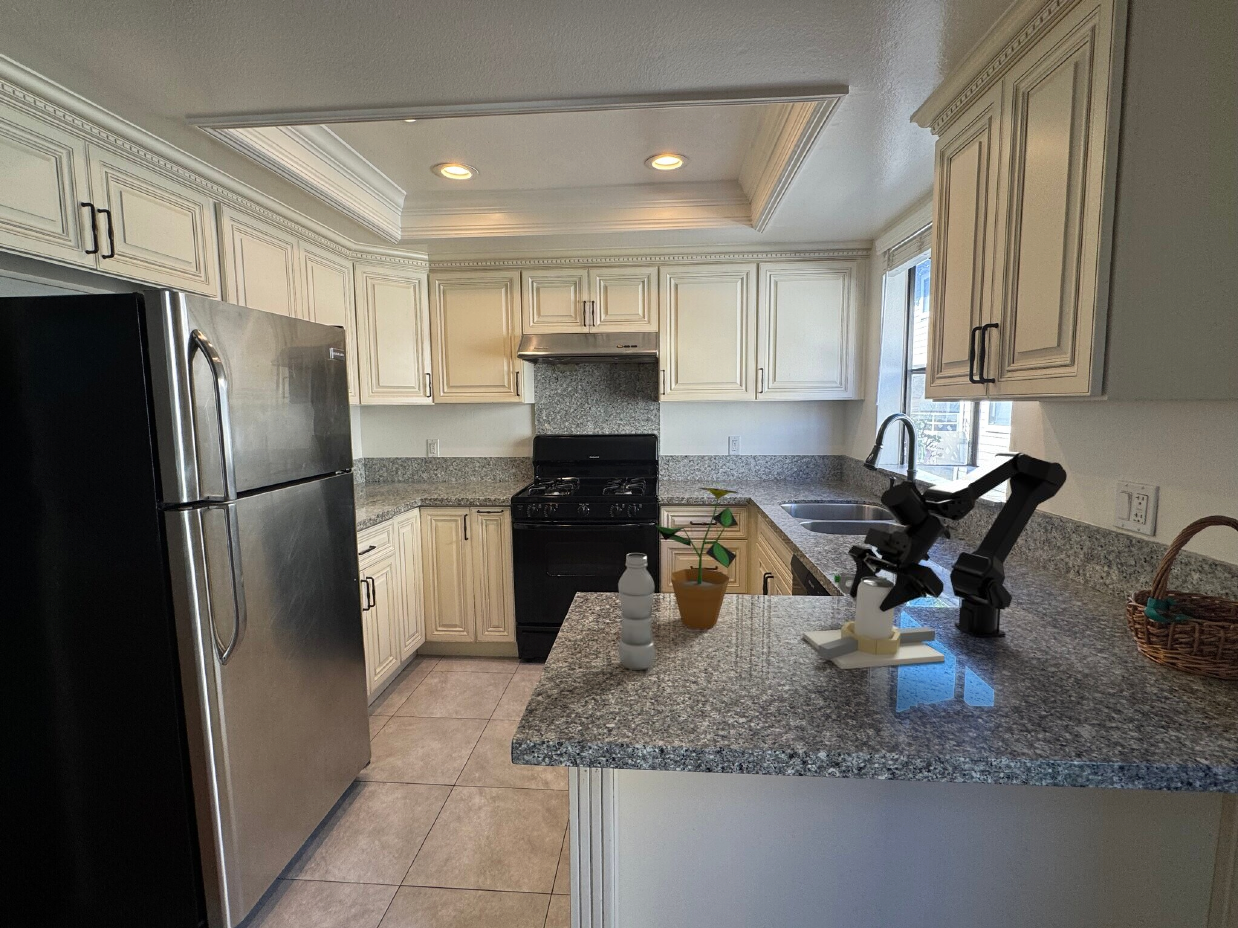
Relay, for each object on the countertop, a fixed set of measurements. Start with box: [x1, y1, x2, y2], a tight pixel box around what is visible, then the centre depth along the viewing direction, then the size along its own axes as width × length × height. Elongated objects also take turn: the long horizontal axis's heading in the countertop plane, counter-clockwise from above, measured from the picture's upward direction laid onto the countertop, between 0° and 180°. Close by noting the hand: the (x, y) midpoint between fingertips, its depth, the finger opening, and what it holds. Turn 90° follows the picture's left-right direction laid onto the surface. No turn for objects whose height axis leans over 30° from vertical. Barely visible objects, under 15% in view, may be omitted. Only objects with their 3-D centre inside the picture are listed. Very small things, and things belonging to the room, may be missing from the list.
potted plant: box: [654, 487, 739, 630], centre depth 116 cm, size 18×19×30 cm
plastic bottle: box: [617, 552, 656, 671], centre depth 96 cm, size 6×7×20 cm
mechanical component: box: [833, 572, 888, 614], centre depth 117 cm, size 3×10×10 cm, turn 78°
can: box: [854, 577, 896, 640], centre depth 103 cm, size 6×6×12 cm
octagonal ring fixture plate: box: [802, 620, 945, 670], centre depth 104 cm, size 25×14×4 cm, turn 99°
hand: (865, 603), depth 102 cm, fingers open, 7 cm apart
